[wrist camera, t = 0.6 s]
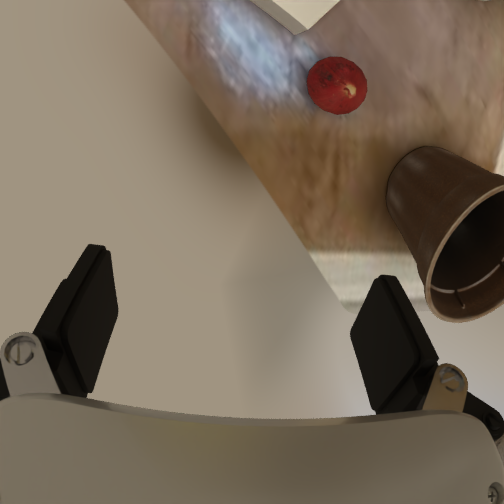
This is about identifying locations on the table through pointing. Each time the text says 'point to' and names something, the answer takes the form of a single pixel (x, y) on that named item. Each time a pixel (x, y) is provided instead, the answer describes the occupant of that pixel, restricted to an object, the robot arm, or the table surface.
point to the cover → (296, 12)
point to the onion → (337, 85)
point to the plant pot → (451, 230)
